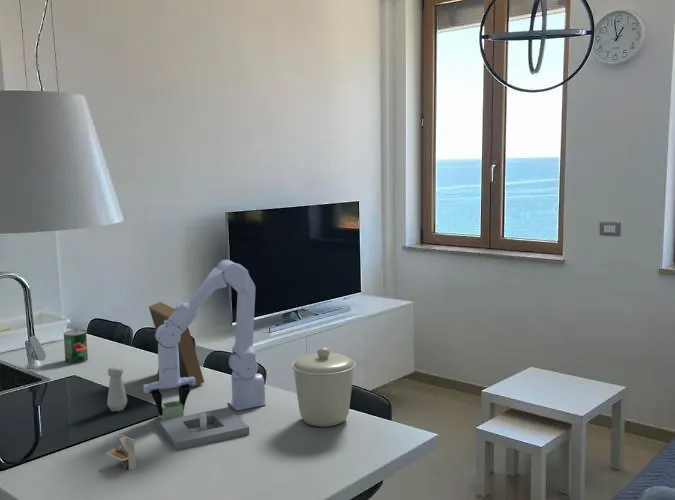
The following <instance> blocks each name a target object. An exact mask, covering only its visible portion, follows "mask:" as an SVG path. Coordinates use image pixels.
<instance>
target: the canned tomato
mask: <svg viewBox="0 0 675 500" xmlns="http://www.w3.org/2000/svg"><path fill="white" fill-rule="evenodd" d="M87 341H88V339H87V331H86V330H85V329H71V330H67V331H64V332H63V342H64V343H63V344H64V345H63V346H64V359H65V364H67V365H78V364H83V363H86V362H88V360H89V358H88V342H87Z"/></svg>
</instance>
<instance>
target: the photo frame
mask: <svg viewBox="0 0 675 500" xmlns="http://www.w3.org/2000/svg"><path fill="white" fill-rule="evenodd" d="M174 308H175V307H171V306H170V305H167V304H165V303H163V302H161V301H160V302H157V303H154V304H152V305H149V306H148V309H149V312H150V315H151V316H150V317H151V318H152V322H153V325H154V329H155V331H156V330H157V329H158V327H159V326H161V325H163V324H165V323H164V321H165V320H168V319H169V317H170V316H171V315H172V314H173V313H174V312H175V309H174ZM182 331H183V330H182ZM178 350H179V371H180V378H183V377H194V378H195V380H196V385H189V386H190V387H191V389H193V388H195V387H197V386H199V385H202V384H204V383H205V379H204V376H203V372H202V368H201V366H200V363H199V362H200V361H199V358H198V355H197V352H196V349H195V345H194V342H193V339H192V335H191V332H190V329H189V326H188V327H187V329H186V330H185V331H184V332H183V333H182V334H181V339H180V342H179V343H178ZM156 373H157V374H156V379H155V382H156V381H159V367H158V369H157V372H156Z"/></svg>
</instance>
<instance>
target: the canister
mask: <svg viewBox="0 0 675 500" xmlns="http://www.w3.org/2000/svg"><path fill="white" fill-rule="evenodd" d="M330 351H331V350H330V349H329V348H328V347H323V346H322V347H319V348H318V349H317V352H315V353H314V352H313V353H308V354H305V355H302V356H300V357H298V358H297V359H295V360H294V361H292V362H291V369H292V370H293V373H294V382H295V388H296V396H297V403H298V409H299V414H300V417H301V418H302V420H303V421H304V422H305V423H306V424H308V425H309V426H310V425H311V426H315V427H333V426H334V427H335V426H337V425H340V424H342V423H344V422H345V421H346V420H347V417H348V416H349V412H350V405H351V398H352V389H353V378H354V377H353V376H354V369H355V368H356V365H357V363H356V361H355V360H354V359H352V358H350V357H349V356H347V355H344V354H342V353H337V352H330Z"/></svg>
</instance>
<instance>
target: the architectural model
mask: <svg viewBox="0 0 675 500" xmlns="http://www.w3.org/2000/svg"><path fill="white" fill-rule="evenodd" d="M117 439H118V441H119V443H120V447H117V445H115V448H114V449H112V450H109V451H106V455H109V456H111V457H113V458H115V459H117V460H120V462H121V464H122V465H123V468H125V469H127V468H128V471H132V470H134V469H136V467H137V466H136V464H137V463H136V450H135V448H136V447H135V446H136V445H135V439H133V438H130V437H128V436H127V435H124V434H119V438H117Z"/></svg>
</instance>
